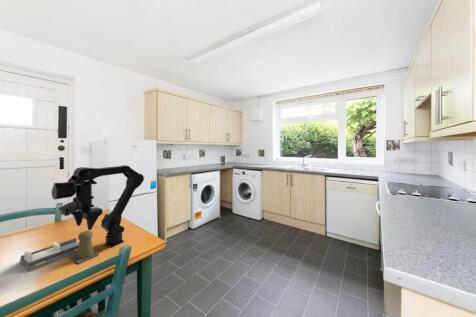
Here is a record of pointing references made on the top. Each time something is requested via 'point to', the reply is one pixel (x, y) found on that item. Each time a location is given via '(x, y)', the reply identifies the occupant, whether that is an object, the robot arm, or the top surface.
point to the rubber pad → (78, 261)
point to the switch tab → (42, 253)
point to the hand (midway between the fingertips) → (84, 227)
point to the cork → (85, 245)
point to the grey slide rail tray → (52, 255)
